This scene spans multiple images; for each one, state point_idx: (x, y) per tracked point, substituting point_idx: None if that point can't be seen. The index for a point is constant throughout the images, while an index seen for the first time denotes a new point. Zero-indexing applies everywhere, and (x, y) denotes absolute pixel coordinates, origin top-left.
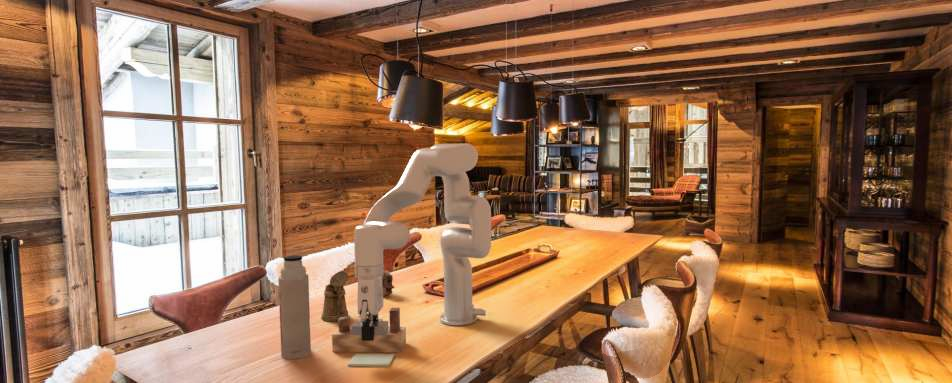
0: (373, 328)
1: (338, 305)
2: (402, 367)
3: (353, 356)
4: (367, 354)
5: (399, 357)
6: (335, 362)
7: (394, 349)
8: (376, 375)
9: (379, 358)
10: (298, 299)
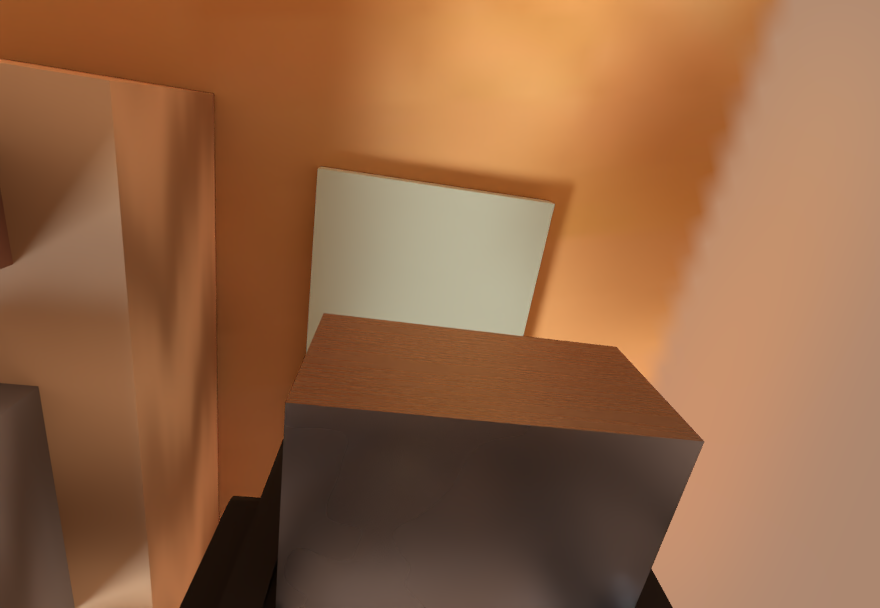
0: (655, 595)
1: None
2: (590, 71)
3: None
4: None
5: (351, 111)
6: None
7: (204, 172)
8: (684, 281)
9: (412, 294)
10: None
